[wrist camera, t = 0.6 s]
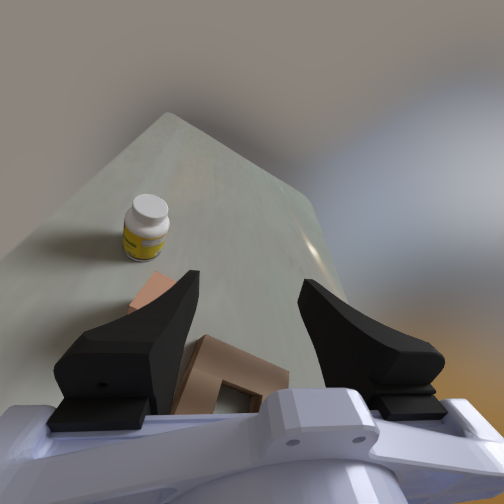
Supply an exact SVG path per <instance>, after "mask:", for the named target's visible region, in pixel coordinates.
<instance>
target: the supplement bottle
mask: <svg viewBox="0 0 504 504" xmlns="http://www.w3.org/2000/svg"><path fill="white" fill-rule="evenodd" d="M167 213H168V206H167V204H166V203H165V201H163V200H162V199H161V198H159V197H157V196H155V195H151V194H141V195H138V196H136V197H135V198H134V199H133V203H132V207H131V208H130V209H128V211H127V212H126V214H125V218H124V232H123V250H124V252H125V254H126V255H127V256H128V257H130V258H131V259H133V260H136V261H142V262H145V261H151V260H153V259H155V258H156V257H158V256H159V254H160V252H161V250H162V247H163V244H164V241H165V238H166V235H167V232H168V229H169V218H168V216H167Z"/></svg>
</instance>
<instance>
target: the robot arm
mask: <svg viewBox="0 0 504 504" xmlns="http://www.w3.org/2000/svg"><path fill="white" fill-rule="evenodd" d="M199 273H200V271H196V270H189V271H188V272H187V273H186V274H185V275H184V276H183V277H182V278H181V279H180V280H179V281H178V282H176V283H175V284H174V285H173V286H172V287H171V288H170V289H168V290H167V291H166V292H164V293H163V294H162V295H161V296H159V297H158V298H156V299H155V300H153V301H152V302H150V303H149V304H147V305H145V306H143V307H141V308H140V309H138V310H136V311H134V312H132V313H130V314H128V315H126V316H124V317H122V318H119V319H117V320H115V321H112V322H110V323H107V324H105V325H102V326H99V327H97V328H94V329H91V330H88V331H85V332H84V333H83V334H82V335H81V336H80V337H79V338H78V339H77V340H76V341H75V342H74V343H73V344H72V346H71V347H70V348H69V349H68V350H67V351H66V353H65V354H64V355H63V356H62V357H61V358H60V360H59V361H58V362H57V363H56V364H55V367H54V370H53V371H54V376H55V379H56V381H57V383H58V385H59V388H60V390H61V392H62V394H63V396H64V399H63V400H62V402H61V403H60V405H59V406H58V407H57V409H56V408H55V407H53V406H50V405H14V406H11V407H9V408H8V409H7V410H6V411H5V413H4V414H3V415H2V416H1V417H0V504H454V503H460V502H466V501H473V500H482V499H489V498H493V497H495V496H497V495H499V494H501V493H503V492H504V438H503V437H502V436H501V435H500V434H499V433H498V432H497V431H496V430H495V429H494V428H493V427H492V426H491V425H490V424H489V423H488V422H487V421H486V420H485V419H484V418H483V416H482V415H481V414H480V413H479V412H478V411H477V410H476V409H475V408H474V407H473V406H472V405H471V404H470V403H469V402H468V401H467V400H466V399H443V400H441V401H438V400H437V398H436V397H435V396H434V395H433V394H435V393H436V390H435V389H434V388H433V387H432V385H431V384H430V383H431V382H432V381H433V380H434V379H435V378H436V377H437V375H438V374H439V373H440V372H441V371H442V369H443V368H444V365H445V359H444V357H443V355H442V354H440V353H439V352H438V351H437V350H436V349H435V348H434V347H433V346H432V345H431V344H430V343H428V342H425V341H422V340H420V339H417V338H414V337H412V336H409V335H406V334H404V333H401V332H399V331H397V330H394V329H392V328H390V327H387V326H385V325H383V324H381V323H379V322H377V321H375V320H373V319H371V318H369V317H368V316H366V315H364V314H362V313H361V312H359V311H357V310H355V309H354V308H352V307H351V306H349V305H348V304H346V303H345V302H343V301H342V300H340V299H339V298H338V297H336V296H335V295H334V294H332V293H331V292H329V291H328V290H327V289H326V288H324V287H323V286H322V285H320V284H319V283H317V282H316V281H314V280H313V279H304V282H303V285H302V288H301V292H300V295H299V298H298V301H297V302H298V307H299V310H300V314H301V317H302V319H303V322H304V324H305V326H306V329H307V331H308V333H309V336H310V338H311V340H312V343H313V345H314V348H315V351H316V354H317V357H318V360H319V364H320V367H321V371H322V374H323V378H324V382H325V386H326V388H288V389H282V390H277V391H275V392H273V393H271V394H269V395H268V396H267V397H266V399H265V400H264V401H263V403H262V404H261V406H260V410H259V413H236V414H193V415H170V410H171V404H172V399H173V395H174V390H175V385H176V380H177V376H178V371H179V366H180V362H181V358H182V353H183V349H184V345H185V341H186V338H187V335H188V332H189V329H190V326H191V323H192V320H193V317H194V314H195V311H196V307H197V303H198V298H199Z"/></svg>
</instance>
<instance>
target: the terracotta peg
mask: <svg viewBox="0 0 504 504" xmlns="http://www.w3.org/2000/svg"><path fill="white" fill-rule="evenodd" d="M175 283H176V281H174V280H172V279H170V278H168V277H166V276H164V275H162V274H160V273H158V272H156V271H155V272H154V273H153V275H152V276H151V277H150V279H149V280H148V281H147V283H146V284H145V285H144V286H143V288H142V289H141V290H140V292H139V293H138V294H137V296H136V297H135V298H134V300H133V301H132V302H131V304H130V305H129V308H128V313H127V315H128V314H130V313H132V312H134V311H136V310H138V309H140V308H141V307H143V306H145V305H147V304H149V303H150V302H152V301H153V300H155V299H156V298H158V297H159V296H161V295H162V294H163V293H164V292H166V291H167V290H168V289H170V288H171V287H172V286H173V285H174V284H175Z"/></svg>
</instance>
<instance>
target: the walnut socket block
mask: <svg viewBox="0 0 504 504" xmlns="http://www.w3.org/2000/svg"><path fill="white" fill-rule="evenodd" d="M221 385H224V386H227V387H229V388H232V389H234V390H237V391H240V392H242V393H245V394H247V395H250V396H251V399H250V405H249V410H248V413H259V410H260V406H261V404H262V403H263V401H264V400H265V399H266V397H267V396H268V395H269V394H271V393H273V392H275V391H277V390H282V389H288V385H289V371H287V370H285V369H282V368H280V367H278V366H276V365H273V364H271V363H269V362H267V361H264V360H262V359H260V358H258V357H256V356H253V355H251V354H249V353H247V352H244V351H242V350H240V349H238V348H235V347H233V346H231V345H229V344H227V343H224V342H222V341H220V340H218V339H215V338H213V337H211V336H209V335H206V334H205V335H204V336H203V337H201V338H200V339H199V340H198V342H197V344H196V347H195V349H194V352H193V354H192V357H191V359H190V362H189V364H188V366H187V369H186V371H185V374H184V376H183V379H182V381H181V384H180V386H179V388H178V391H177V393H176V396H175V398H174V401H173V403H172V406H171V410H170V415H193V414H213V411H214V408H215V404H216V400H217V397H218V393H219V390H220V386H221Z"/></svg>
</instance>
